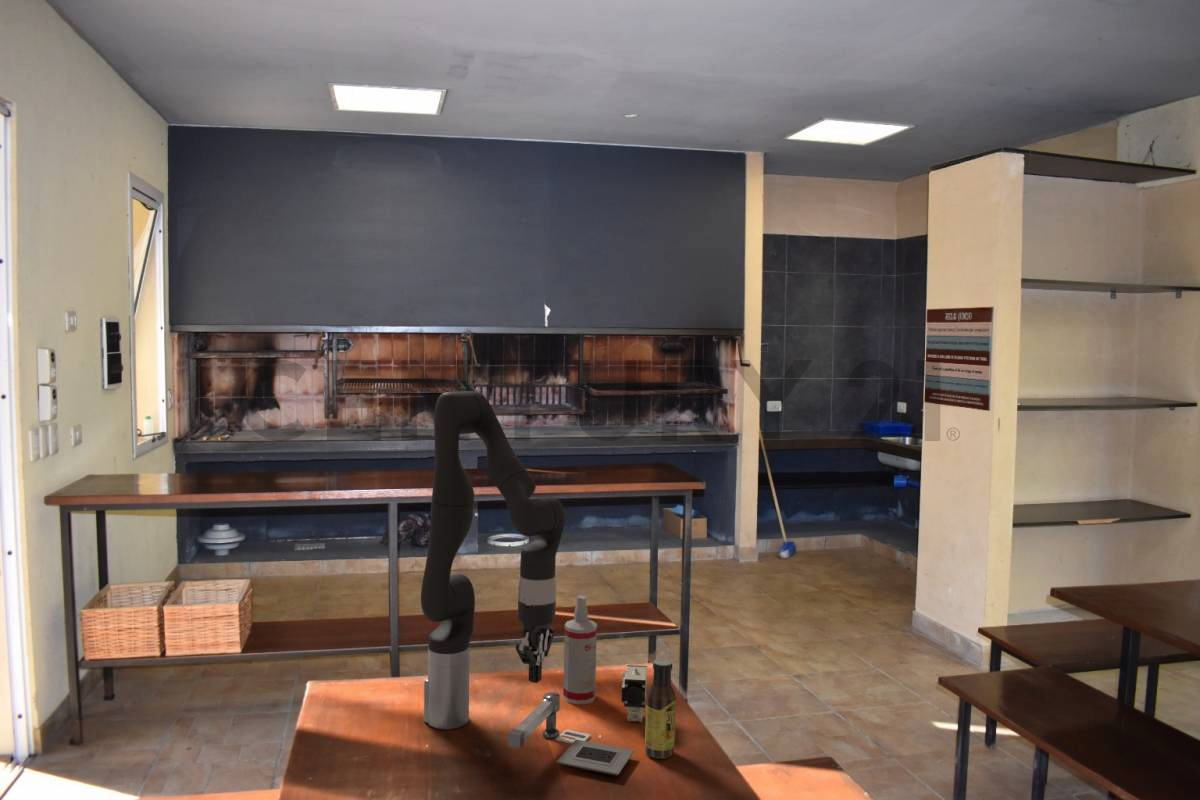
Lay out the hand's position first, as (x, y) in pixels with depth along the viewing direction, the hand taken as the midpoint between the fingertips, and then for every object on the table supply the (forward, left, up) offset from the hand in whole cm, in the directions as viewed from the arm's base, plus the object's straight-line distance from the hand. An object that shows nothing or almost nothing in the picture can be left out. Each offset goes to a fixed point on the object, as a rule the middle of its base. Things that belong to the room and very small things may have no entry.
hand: (534, 681), depth 181 cm
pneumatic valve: (+10, +30, -19) cm, 37 cm away
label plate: (+2, +15, -18) cm, 24 cm away
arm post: (-3, +14, -18) cm, 24 cm away
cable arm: (-3, +6, -12) cm, 14 cm away
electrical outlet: (+11, +7, -19) cm, 23 cm away
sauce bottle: (+21, +17, -19) cm, 33 cm away
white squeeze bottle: (-6, +35, -19) cm, 41 cm away
